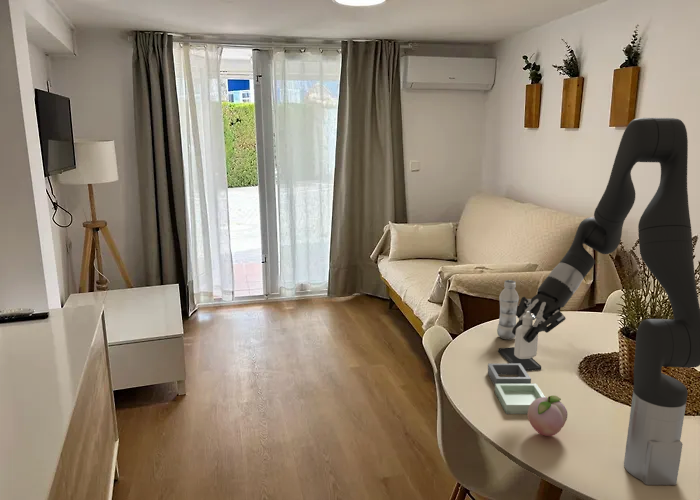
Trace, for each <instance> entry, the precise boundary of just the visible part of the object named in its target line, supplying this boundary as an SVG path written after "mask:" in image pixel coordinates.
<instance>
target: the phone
mask: <svg viewBox="0 0 700 500" xmlns="http://www.w3.org/2000/svg"><path fill="white" fill-rule="evenodd" d="M514 348H515V346H513V347H512V346H511V347H500V348H498V349H497V352H498V353H499V355H501V356H502V357H503V359H504V360H505V361H507V362H508V363H521V365H522V366H523V368H524V369H525V371H526V372H533V371H532V370H535V371H542V365H541V364H540V363H538V361H537V360H535V359H534V357H533V358H529V359H519V358H517V357H516V356H515V355H514Z"/></svg>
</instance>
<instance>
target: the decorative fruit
mask: <svg viewBox="0 0 700 500" xmlns="http://www.w3.org/2000/svg"><path fill="white" fill-rule="evenodd" d="M561 400H562V399H561V397H560V396H558V395H548V396H547V397H546V396H545V397H541V398H538V399H536V400H534V401H533V402H532V403H531V405H530V406H529V408H528V414H527V419H528V421H529V423H530V426H532V428H533V429H534V430H535V431H536V432H537V433H538V434H540V435H541V436H546V437H551V436H552V437H553V436H555V435H557V434H558V433H559V432H561V430H562V429H563V427H564V426H565V424H566V422H567V419H568V410H567V407H566V405H564V404H563V403H562V402H561Z"/></svg>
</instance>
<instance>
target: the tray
mask: <svg viewBox="0 0 700 500" xmlns="http://www.w3.org/2000/svg"><path fill="white" fill-rule="evenodd" d="M494 393H495V396H496V397H497V399H498V401H499V403H500V404H501V407H502V409H503V411H504V412H505V414H506V415H528V408H529V406H530V405H531V403H532V402H533V401H534V400H536V399H538V398H541V397H546V396H545V395H544V393H543V391H542V390H541V388H540V387H539V386H538V383H531V384H495V386H494Z"/></svg>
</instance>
